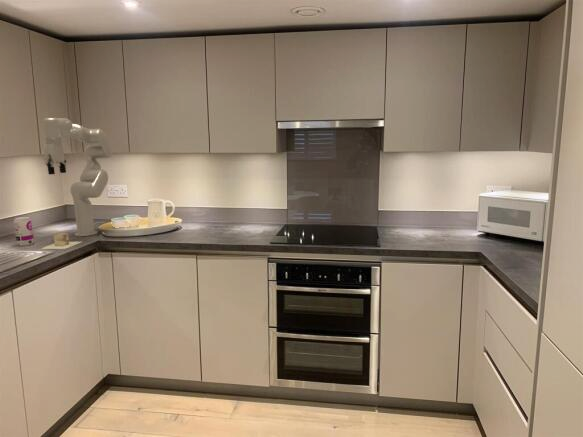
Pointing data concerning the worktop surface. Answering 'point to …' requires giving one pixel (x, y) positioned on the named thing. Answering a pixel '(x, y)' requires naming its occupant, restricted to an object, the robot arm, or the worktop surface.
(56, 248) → the sage mat
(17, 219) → the supplement can
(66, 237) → the birch block
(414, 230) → the worktop surface
